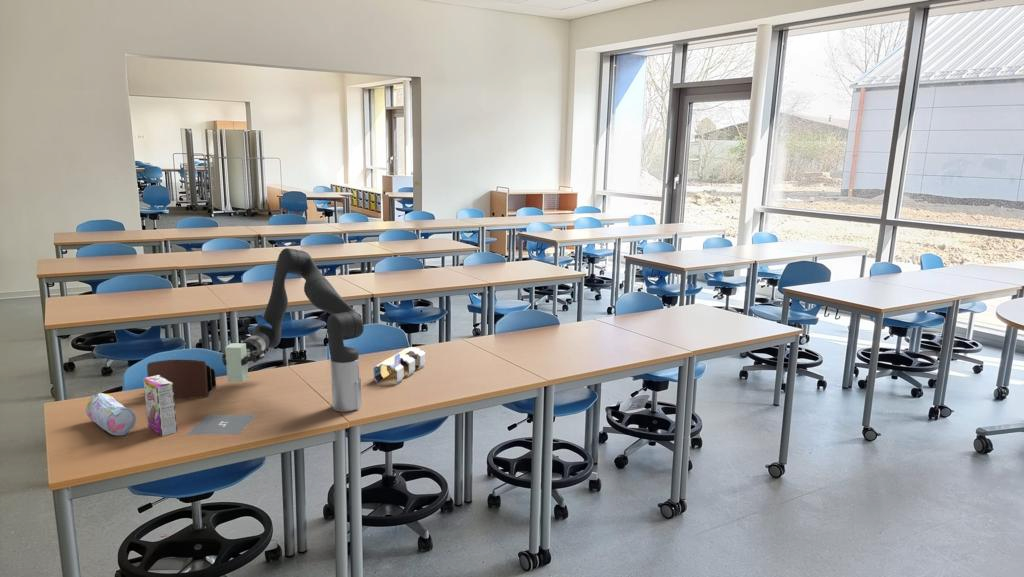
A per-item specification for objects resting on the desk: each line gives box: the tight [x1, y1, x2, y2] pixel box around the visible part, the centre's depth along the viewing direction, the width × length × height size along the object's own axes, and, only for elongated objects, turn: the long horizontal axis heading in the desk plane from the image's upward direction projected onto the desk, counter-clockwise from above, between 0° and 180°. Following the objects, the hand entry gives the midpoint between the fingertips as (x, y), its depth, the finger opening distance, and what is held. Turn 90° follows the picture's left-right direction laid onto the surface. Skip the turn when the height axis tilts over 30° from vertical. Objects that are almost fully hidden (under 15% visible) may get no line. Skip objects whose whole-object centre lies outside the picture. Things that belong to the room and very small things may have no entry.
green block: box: [224, 342, 249, 383], centre depth 220 cm, size 5×5×12 cm
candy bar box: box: [142, 375, 178, 437], centre depth 202 cm, size 11×5×16 cm, turn 48°
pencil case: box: [85, 392, 137, 436], centre depth 205 cm, size 21×9×10 cm, turn 47°
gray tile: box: [186, 414, 257, 436], centre depth 209 cm, size 16×16×1 cm
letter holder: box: [146, 359, 217, 399], centre depth 235 cm, size 10×20×14 cm, turn 97°
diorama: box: [372, 346, 427, 385], centre depth 260 cm, size 25×10×13 cm, turn 162°
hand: (233, 362), depth 218 cm, fingers closed on green block, 5 cm apart
